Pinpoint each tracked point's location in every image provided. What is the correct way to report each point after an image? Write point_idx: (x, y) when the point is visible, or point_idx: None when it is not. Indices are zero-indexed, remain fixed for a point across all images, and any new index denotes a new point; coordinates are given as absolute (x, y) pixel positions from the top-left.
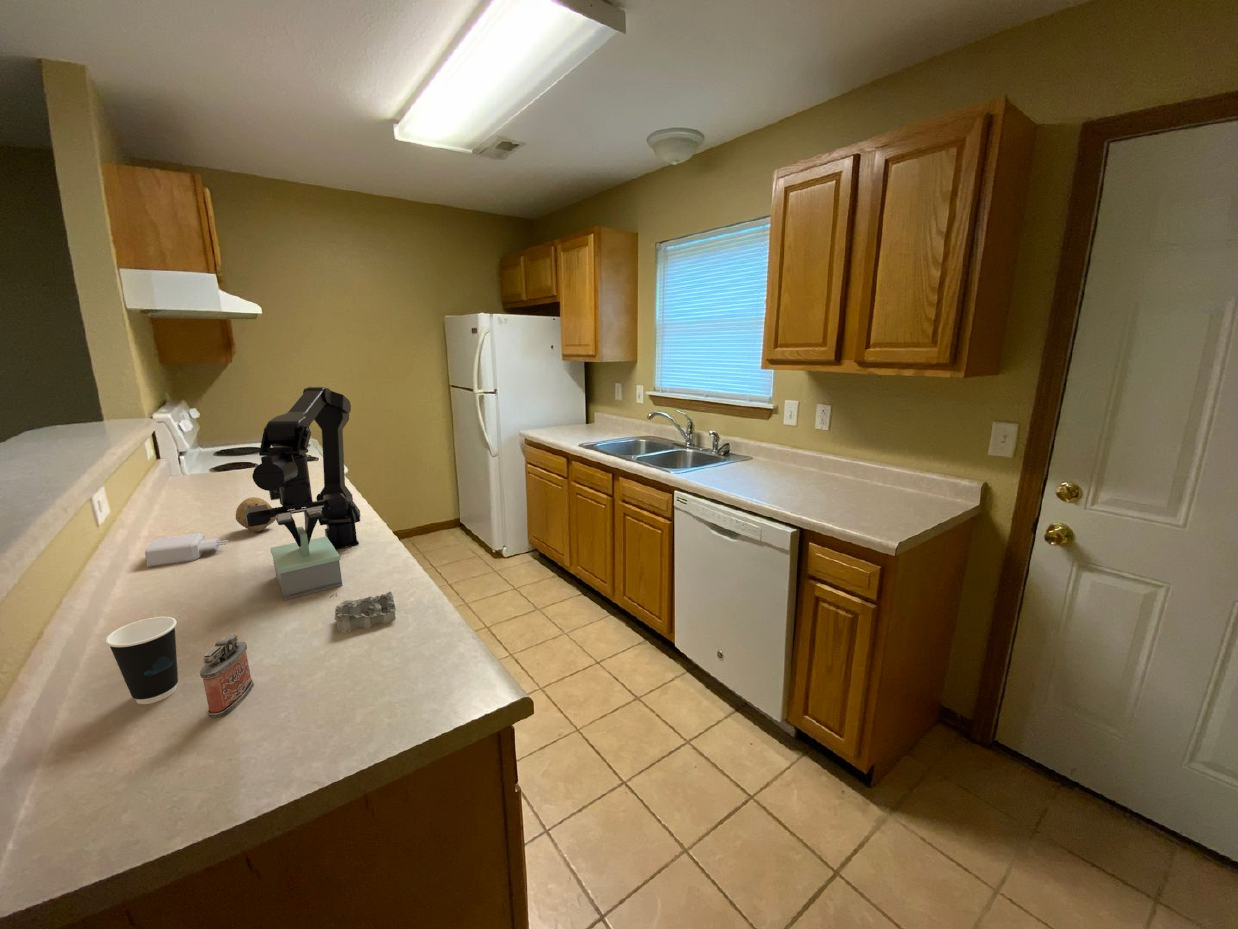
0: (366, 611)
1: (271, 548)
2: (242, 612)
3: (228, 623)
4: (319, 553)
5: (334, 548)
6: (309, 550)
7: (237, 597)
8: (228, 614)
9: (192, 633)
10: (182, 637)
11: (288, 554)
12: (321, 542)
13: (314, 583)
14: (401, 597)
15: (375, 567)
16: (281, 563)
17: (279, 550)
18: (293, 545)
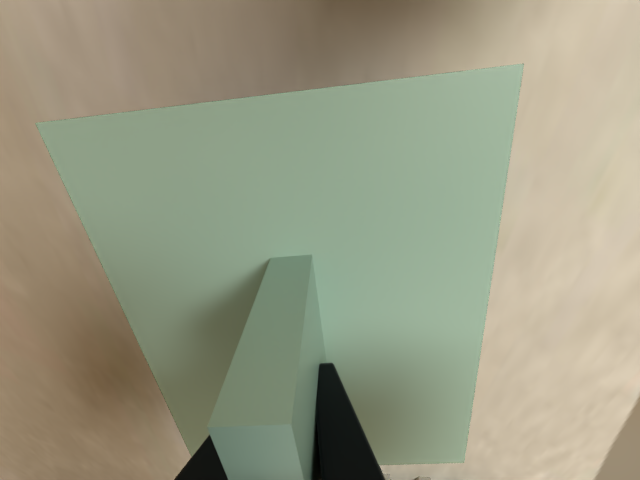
0: (427, 477)
1: (54, 150)
2: (140, 357)
3: (124, 393)
4: (382, 398)
5: (475, 372)
6: (334, 334)
7: (83, 251)
8: (104, 350)
9: (56, 398)
10: (42, 404)
11: (213, 333)
12: (435, 221)
13: None
14: (523, 462)
15: (579, 246)
16: (197, 423)
17: (136, 231)
18: (223, 172)
